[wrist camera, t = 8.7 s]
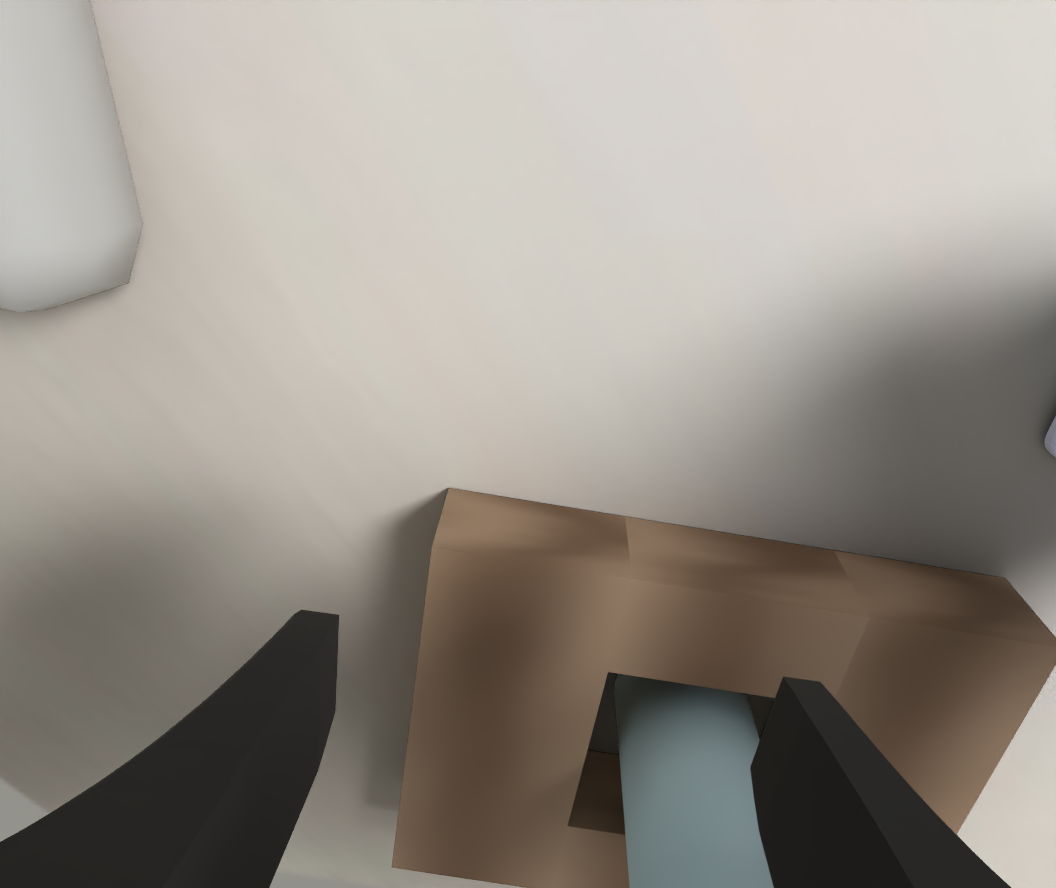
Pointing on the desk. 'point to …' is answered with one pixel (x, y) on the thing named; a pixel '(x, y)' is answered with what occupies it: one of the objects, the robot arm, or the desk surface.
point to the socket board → (675, 672)
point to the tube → (60, 160)
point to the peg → (688, 786)
